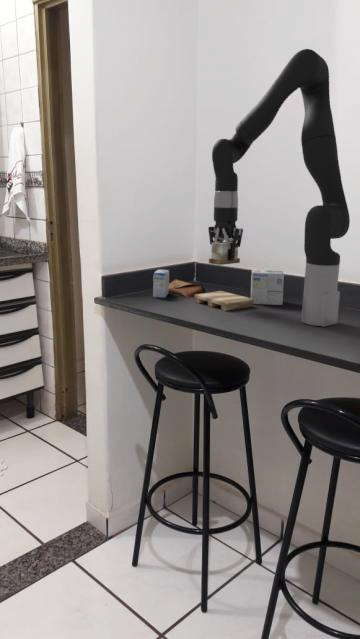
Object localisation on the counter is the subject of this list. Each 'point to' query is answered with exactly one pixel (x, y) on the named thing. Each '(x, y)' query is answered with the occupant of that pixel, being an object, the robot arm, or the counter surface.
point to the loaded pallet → (221, 262)
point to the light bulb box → (267, 287)
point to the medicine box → (160, 283)
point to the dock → (224, 300)
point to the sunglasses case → (185, 288)
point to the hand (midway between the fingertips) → (224, 259)
